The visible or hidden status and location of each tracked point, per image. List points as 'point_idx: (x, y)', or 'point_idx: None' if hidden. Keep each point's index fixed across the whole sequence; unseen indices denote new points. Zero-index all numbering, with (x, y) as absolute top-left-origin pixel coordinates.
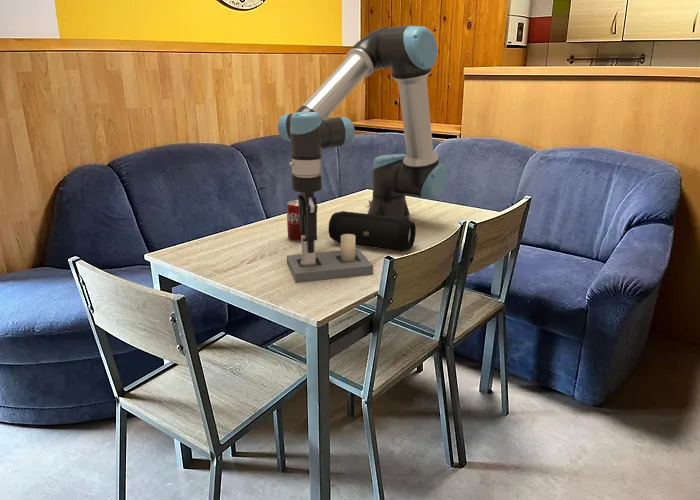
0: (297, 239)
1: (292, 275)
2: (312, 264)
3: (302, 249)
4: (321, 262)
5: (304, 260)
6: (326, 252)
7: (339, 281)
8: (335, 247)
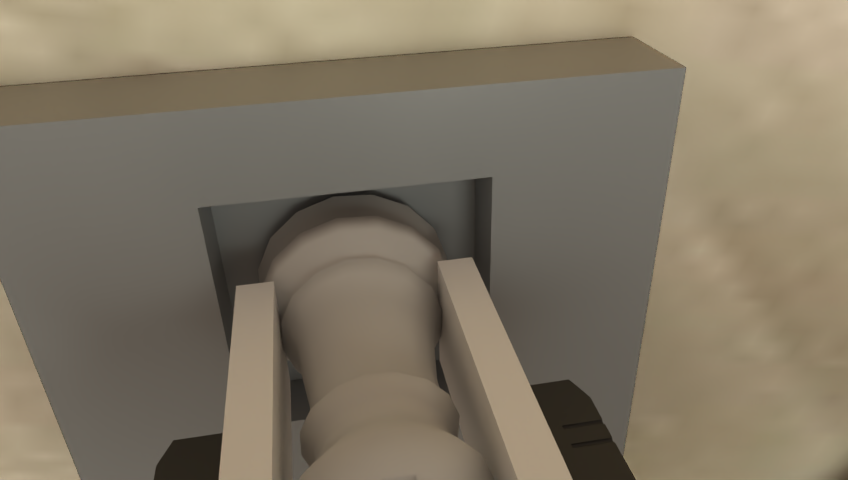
0: None
1: (222, 70)
2: None
3: (467, 343)
4: None
5: (311, 291)
6: None
7: (43, 476)
8: (827, 467)
